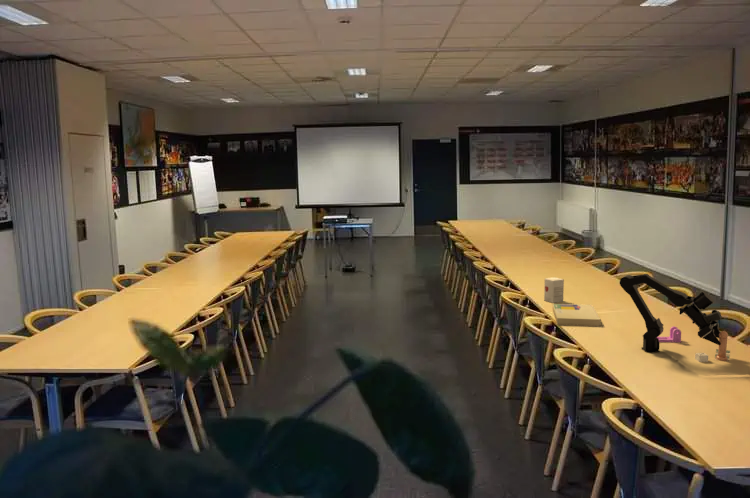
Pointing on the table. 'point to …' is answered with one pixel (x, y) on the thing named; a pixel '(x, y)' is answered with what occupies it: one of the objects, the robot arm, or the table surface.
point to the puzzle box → (576, 315)
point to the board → (726, 354)
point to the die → (701, 357)
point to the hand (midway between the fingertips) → (721, 342)
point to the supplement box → (553, 290)
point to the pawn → (722, 346)
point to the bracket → (672, 336)
